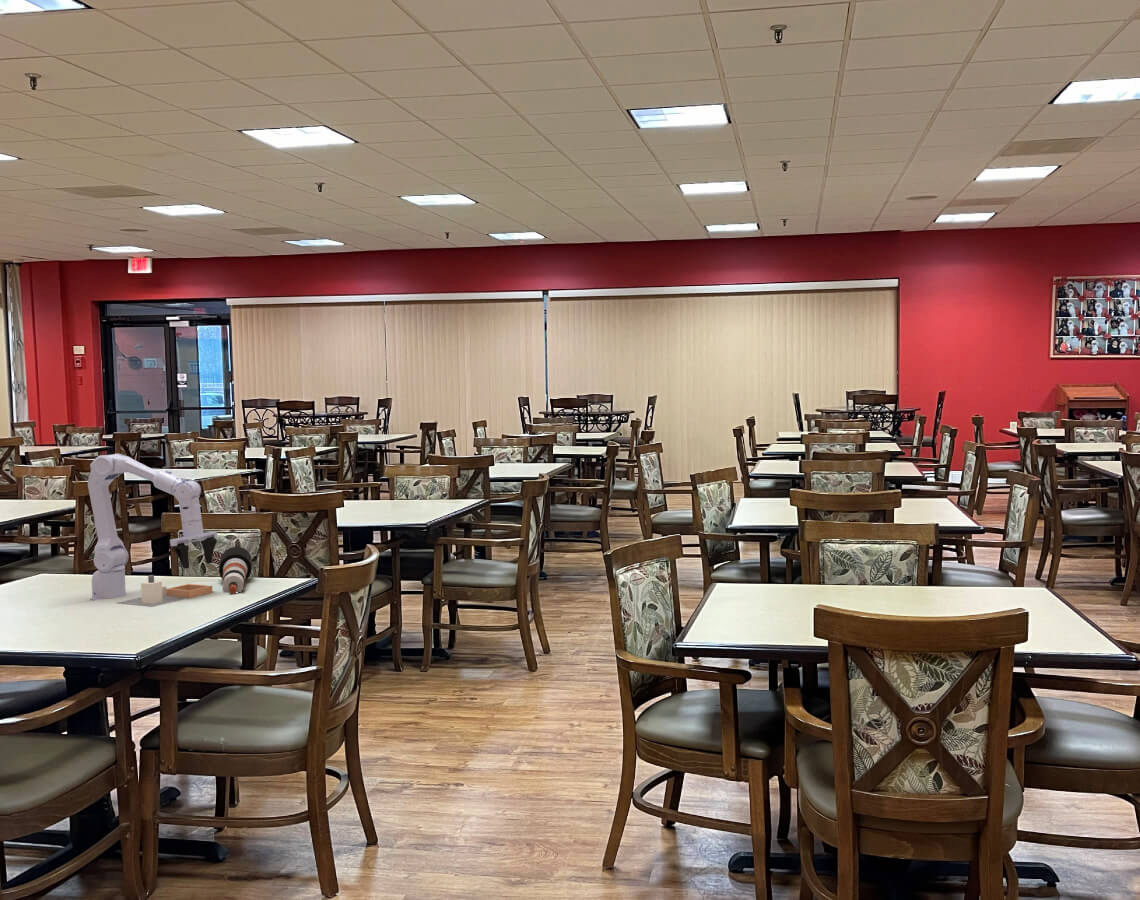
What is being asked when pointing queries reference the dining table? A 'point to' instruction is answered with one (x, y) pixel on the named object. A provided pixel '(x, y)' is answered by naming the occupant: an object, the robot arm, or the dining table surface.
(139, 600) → the board
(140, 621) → the dining table surface
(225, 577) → the cable
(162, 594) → the clip
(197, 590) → the frame
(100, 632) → the dining table surface
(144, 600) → the connector
